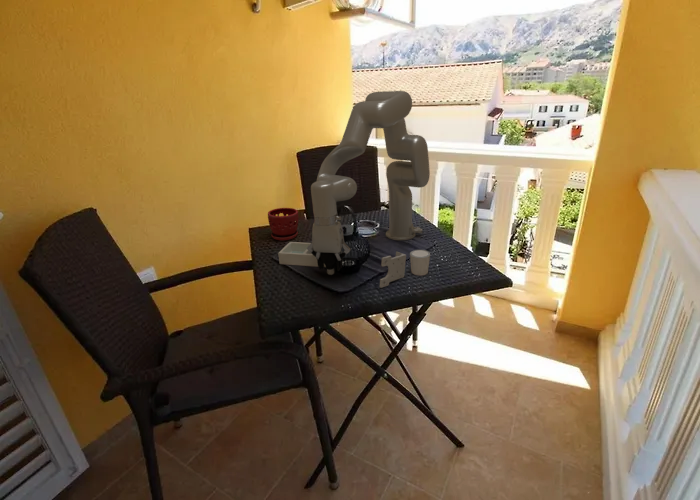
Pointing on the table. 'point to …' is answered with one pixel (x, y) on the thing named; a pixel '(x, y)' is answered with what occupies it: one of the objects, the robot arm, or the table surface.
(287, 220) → the plant pot
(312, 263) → the box
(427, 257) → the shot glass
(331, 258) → the light bulb
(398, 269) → the bracket
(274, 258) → the table surface
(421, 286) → the table surface
